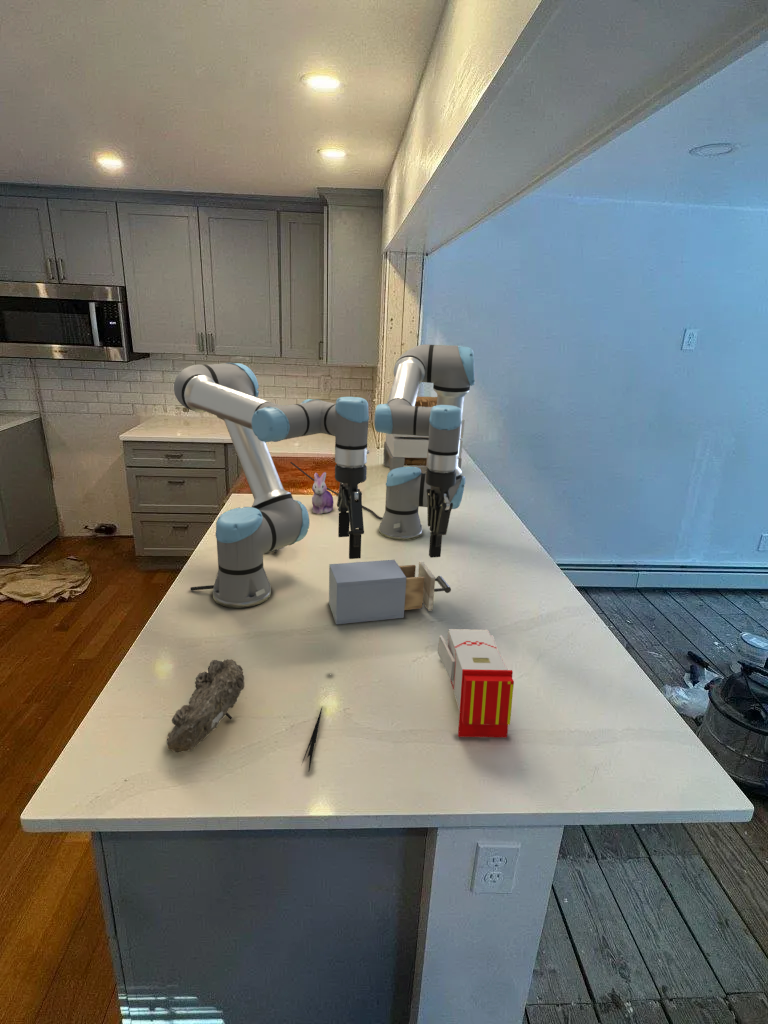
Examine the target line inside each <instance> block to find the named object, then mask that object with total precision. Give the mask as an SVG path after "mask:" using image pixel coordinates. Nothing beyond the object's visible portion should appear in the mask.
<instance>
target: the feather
mask: <svg viewBox="0 0 768 1024" xmlns="http://www.w3.org/2000/svg"><path fill="white" fill-rule="evenodd" d="M329 675H330V676H331V675H332V674H331V673H330V674H329ZM322 710H323V707H321V708H320V710H319V713H318V716H317V719H316V723H315V725H314V728H313V731H312V733H311V737H310V739H309V742H308V745H307V748H306V751H305V754H304V757H303V760H302V763H301V767H302V765H303V763H304V761H305V758H308V759H309V760H308V762H307V763H308V764H307V766H308V771H310V770H311V766H312V765H311V764H312V760H313V757H315V756H314V755H315V751H316V749H315V746H317V739H318V733H319V729H320V722H321V717H322V712H323V711H322ZM313 754H314V755H313ZM306 755H307V757H306Z"/></svg>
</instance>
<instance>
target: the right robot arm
mask: <svg viewBox="0 0 768 1024" xmlns="http://www.w3.org/2000/svg"><path fill="white" fill-rule="evenodd" d="M474 352H475V351H474V350H473V348H472V347H470V346H464V345H455V344H454V345H451V344H450V345H449V344H430V343H429V344H426V343H425V344H424V343H423V344H419V345H415V346H413V347H411V348H409V349H408V350H406V351H405V352H403V353H402V354H401V355H400V356H399V357H398V358H397V360H396V362H395V364H394V367H393V381H392V385H391V388H390V392H389V395H388V397H387V401H386V403H379V404H377V405H376V407H375V411H374V430H375V432H377V433H380V434H386V433H388V434H402V435H416V436H429V442H428V451H427V463H426V466H425V467H426V468H427V469H426V470H425V472H422V469H421V468H420V467H419V466H418V467H417V466H404V467H400V468H396V469H393V470H391V471H390V470H389V471H388V473H387V475H386V482H385V487H386V488H385V504H384V505H385V507H384V508H385V509H384V513H383V515H382V517H381V516H379V515H378V514H376V513H375V511H373V510H372V509H370V508H368V507H366V506H365V505H362V509H364V510H367V511H368V512H370V513H371V514H372V515H373V516H374V517H375V518H377V519H379V520H381V522H379V526H378V533H379V534H380V535H381V536H382V537H385V538H387V539H389V540H395V541H410V540H415V539H418V538H420V537H421V536H422V535H423V525H422V524H421V518H420V515H419V508H420V507H421V508H422V507H423V508H426V509H427V527H428V528H429V531H430V535H429V545H428V546H429V547H428V556H429V558H430V559H431V558H440V557H441V555H442V542H443V536H447V532H448V527H449V522H450V517H451V514H452V513H451V512H452V510H456V509H458V508H459V507H460V506H461V502H462V500H463V496H464V491H465V484H466V476H464V475H463V474H462V473H463V471H462V468H461V469H460V468H459V467H458V459H459V448H460V439H461V438H460V437H461V426H462V419H463V414H464V403H465V396H466V395H467V394H468V393H469V392H470V388H471V387H473V386H474V385H475V384H476V376H475V353H474ZM421 383H428V384H429V383H430V384H432V390H433V391H434V392H435V393H436V397H437V405H436V406H433V407H420V406H415V402H416V397H417V396H418V392H419V388H420V384H421ZM290 464H291V465H292V466H294V467H295V468H296V469H298V470H299V471H300V472H301V473H302V474H304V475H305V476H306V477H307V478H309V479H310V480H312V481H313V482H315V479H314V477H311V476H310V475H309V474H307V472H305V471H304V470H302V469H301V468H300V467H298V465H296V464H295V463H294V462H292V461H290ZM327 491H329V492H330V493H333V494H335V495H336V496H338V494H339V492H336V491H334V490H333V489H331V488H329V487H327Z"/></svg>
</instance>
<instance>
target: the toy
mask: <svg viewBox="0 0 768 1024" xmlns="http://www.w3.org/2000/svg"><path fill="white" fill-rule="evenodd" d="M446 640H447V643H446V641H445V639H444V636H443V635H442V634H439V637H438V646H437V656H438V657H439V659H440V661H441V663H442V666H443V668H444V670H445V672H446V674H447V677H448V679H449V681H450V684H451V687H452V690H453V693H454V697H455V701H456V705H457V708H458V711H459V714H458V715H459V716H458V730H457V731H458V732H457V737H458V738H508V731H509V726H510V725H511V717H512V707H513V697H514V696H513V695H514V684H515V680H514V679H513V673H514V671H513V670H512V669H508V667H507V665H506V662H505V661H504V659H503V658H502V655H501V653H500V651H499V649H498V647H497V643H496V639H495V637H494V635H493V634H491V632H490V631H489V629H467V628H466V629H465V628H463V629H461V628H460V629H459V628H448V630H447V639H446Z"/></svg>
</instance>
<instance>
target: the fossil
mask: <svg viewBox="0 0 768 1024" xmlns="http://www.w3.org/2000/svg"><path fill="white" fill-rule="evenodd" d="M243 670H244V669H243V667H242V665H240V664H237V662H236V661H235V660H234V659H232V658H231V659H227V658H226V659H224V660H223V661H222V660H217V659H212V660H211V661H210V663H209V665H208V666H207V671H201V672H199V673H198V674H197V675H196V676H195V680H194V684H195V685H194V687H195V689H194V690H193V693H192V694H191V697H190V698H189V700H188V704H184V705H182V706H181V707H180V709H177V710H176V711H175V713H174V715H173V716H172V718H171V723H172V724H173V727H172V730H171V731H170V732H168V734H167V738H166V741H167V742H166V745H167V749H168V750H169V751H173V752H174V753H176V754H178V753H182V752H188V751H189V752H192V751H193V750H195V748H196V747H197V746H199V744H200V743H201V742H203V741H204V740H205V739H206V738H207V737H208V736H209V735H210V734H211V733H212V732H214V730H215V729H217V727H218V726H219V724H220V722H221V721H222V720H223V719H224V718H225V716H226V717H227V719H229V720H233V717H232V715H230V714H229V710H230V709H231V708H234V706H235V704H236V703H237V702H238V699H239V697H240V695H241V693H242V691H243V690H245V689H244V688H245V675H244V671H243Z"/></svg>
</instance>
